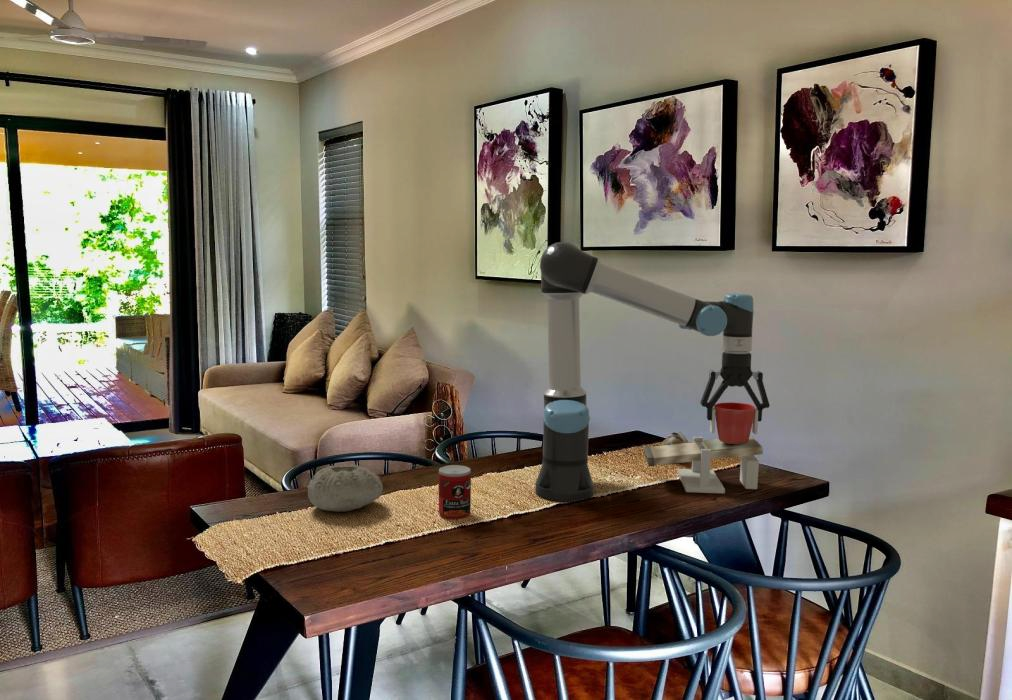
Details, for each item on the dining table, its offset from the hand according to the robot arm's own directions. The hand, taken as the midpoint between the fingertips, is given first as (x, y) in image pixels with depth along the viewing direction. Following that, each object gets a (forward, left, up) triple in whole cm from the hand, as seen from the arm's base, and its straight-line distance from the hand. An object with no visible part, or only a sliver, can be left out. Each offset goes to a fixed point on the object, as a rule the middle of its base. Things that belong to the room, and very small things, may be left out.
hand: (733, 432), depth 220 cm
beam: (-8, 0, -7) cm, 10 cm away
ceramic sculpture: (-13, +24, -15) cm, 31 cm away
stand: (-3, 0, -14) cm, 15 cm away
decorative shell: (-98, -32, -15) cm, 104 cm away
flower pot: (0, 0, -2) cm, 2 cm away
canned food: (-71, -34, -15) cm, 80 cm away
